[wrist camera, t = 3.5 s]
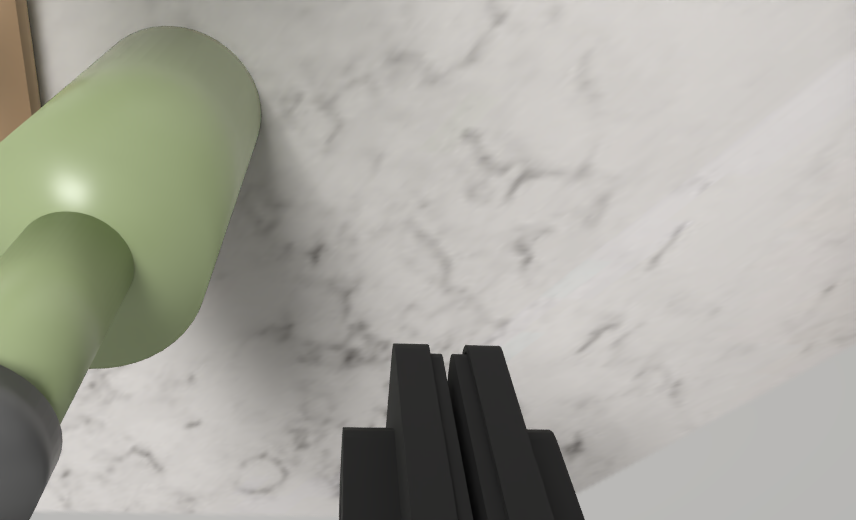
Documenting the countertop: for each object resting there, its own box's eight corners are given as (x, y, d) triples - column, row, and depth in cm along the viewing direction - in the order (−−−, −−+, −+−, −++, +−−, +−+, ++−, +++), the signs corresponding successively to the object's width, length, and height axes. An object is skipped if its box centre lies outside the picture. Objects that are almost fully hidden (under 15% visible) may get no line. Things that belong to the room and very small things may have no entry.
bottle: (260, 32, 24) (114, 322, 9) (261, 189, 26) (146, 612, 12) (83, 19, 23) (-353, 306, 9) (101, 181, 25) (-225, 615, 11)
